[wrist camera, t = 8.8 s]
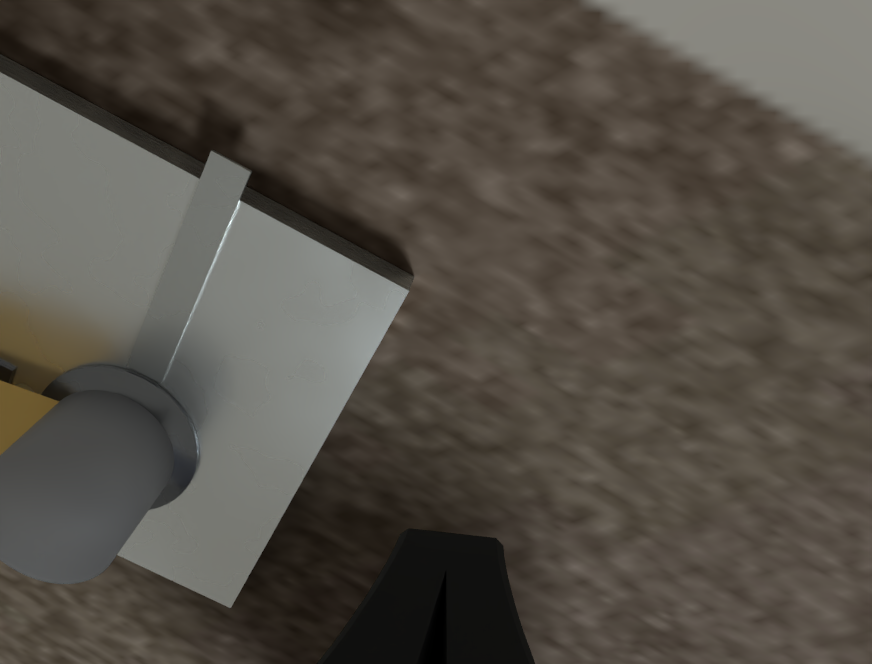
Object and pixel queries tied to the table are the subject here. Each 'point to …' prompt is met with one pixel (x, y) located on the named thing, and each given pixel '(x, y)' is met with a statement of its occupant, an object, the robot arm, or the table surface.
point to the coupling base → (180, 317)
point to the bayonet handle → (75, 479)
